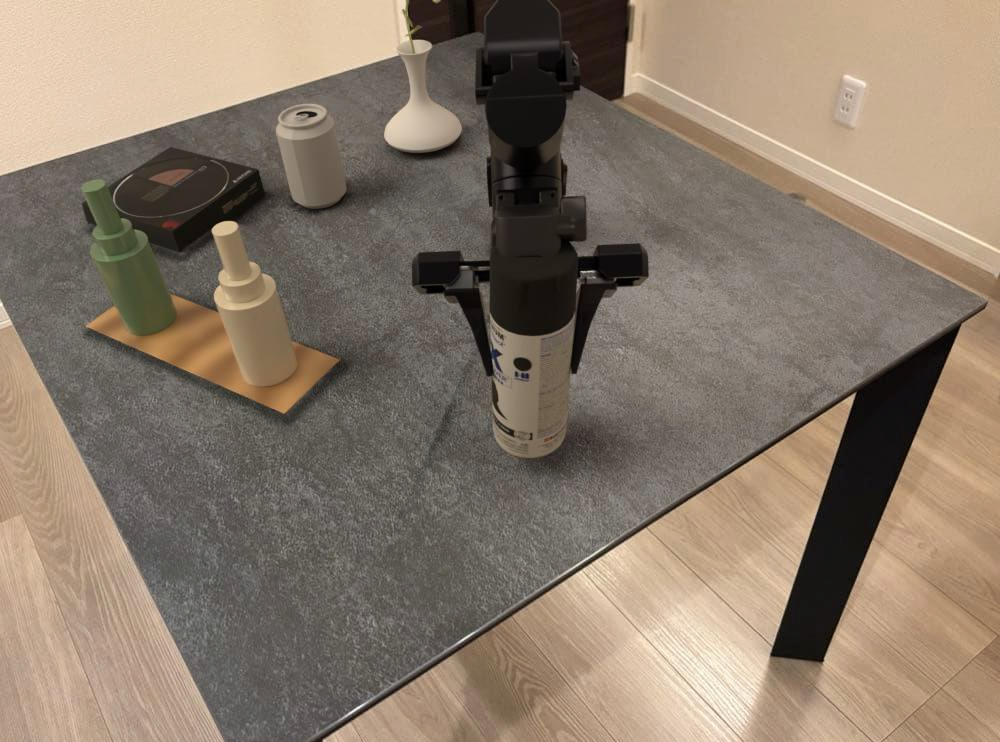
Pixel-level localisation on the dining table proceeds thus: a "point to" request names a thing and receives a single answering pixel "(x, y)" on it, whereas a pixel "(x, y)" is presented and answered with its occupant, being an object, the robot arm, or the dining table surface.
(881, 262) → the dining table surface
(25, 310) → the dining table surface
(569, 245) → the spray can
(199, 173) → the portable cd player
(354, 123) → the dining table surface
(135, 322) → the green bottle
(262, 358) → the cream bottle
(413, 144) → the flower in vase
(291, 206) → the dining table surface
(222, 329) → the board
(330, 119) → the can
